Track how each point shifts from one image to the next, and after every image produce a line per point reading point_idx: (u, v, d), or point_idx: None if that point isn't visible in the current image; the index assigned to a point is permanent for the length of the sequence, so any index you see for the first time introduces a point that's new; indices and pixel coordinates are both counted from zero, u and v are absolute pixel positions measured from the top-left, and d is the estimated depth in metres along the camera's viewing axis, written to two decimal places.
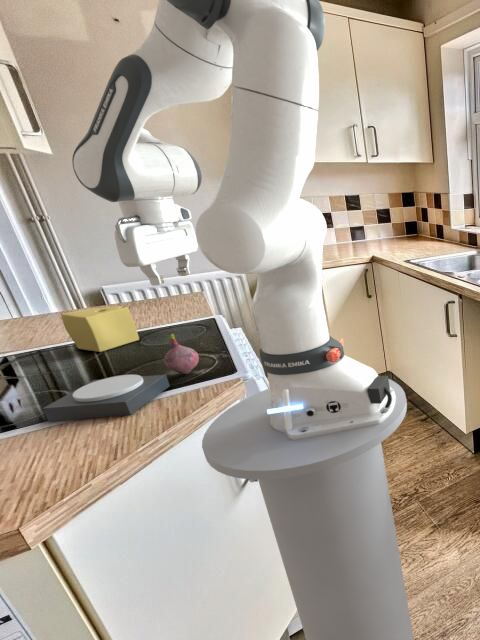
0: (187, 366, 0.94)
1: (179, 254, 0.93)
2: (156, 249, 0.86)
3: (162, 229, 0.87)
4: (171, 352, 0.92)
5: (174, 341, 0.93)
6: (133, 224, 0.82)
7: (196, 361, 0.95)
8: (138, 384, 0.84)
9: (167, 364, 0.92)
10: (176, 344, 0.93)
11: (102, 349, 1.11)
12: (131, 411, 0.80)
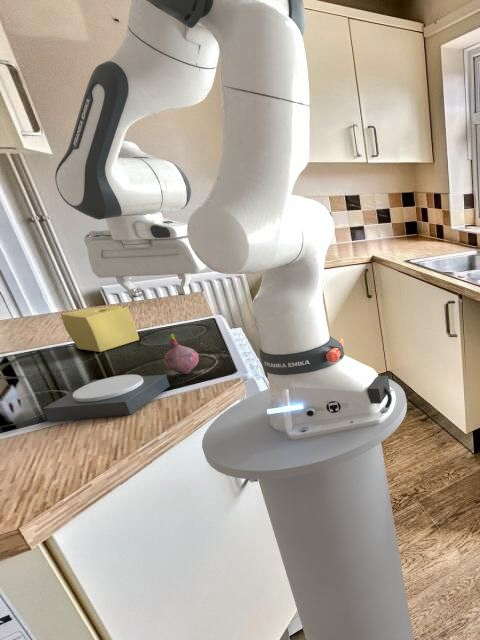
0: (187, 366, 0.94)
1: (158, 273, 0.87)
2: (118, 264, 0.85)
3: (124, 246, 0.83)
4: (171, 352, 0.92)
5: (174, 341, 0.93)
6: (104, 238, 0.84)
7: (196, 361, 0.95)
8: (138, 384, 0.84)
9: (167, 364, 0.92)
10: (176, 344, 0.93)
11: (102, 349, 1.11)
12: (131, 411, 0.80)
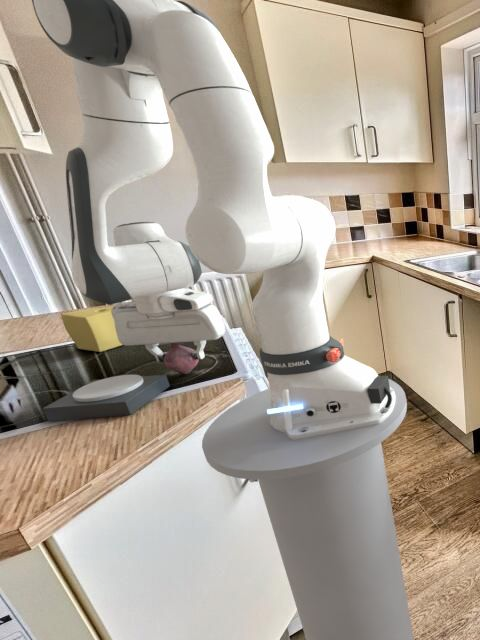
0: (187, 366, 0.94)
1: (180, 340, 0.92)
2: (142, 333, 0.90)
3: (148, 317, 0.89)
4: (171, 352, 0.92)
5: None
6: (129, 309, 0.89)
7: (196, 361, 0.95)
8: (138, 384, 0.84)
9: (167, 364, 0.92)
10: (176, 344, 0.93)
11: (102, 349, 1.11)
12: (131, 411, 0.80)
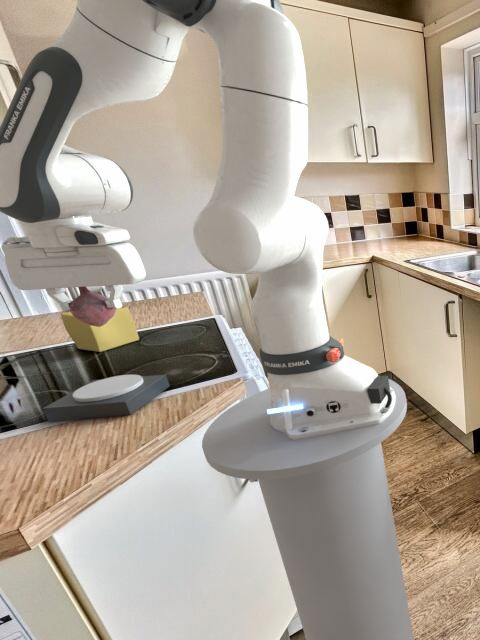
0: (99, 317, 0.79)
1: (88, 284, 0.77)
2: (41, 275, 0.75)
3: (46, 254, 0.73)
4: (78, 299, 0.77)
5: None
6: (24, 245, 0.74)
7: (111, 311, 0.80)
8: (138, 384, 0.84)
9: (73, 313, 0.77)
10: (85, 290, 0.78)
11: (102, 349, 1.11)
12: (131, 411, 0.80)
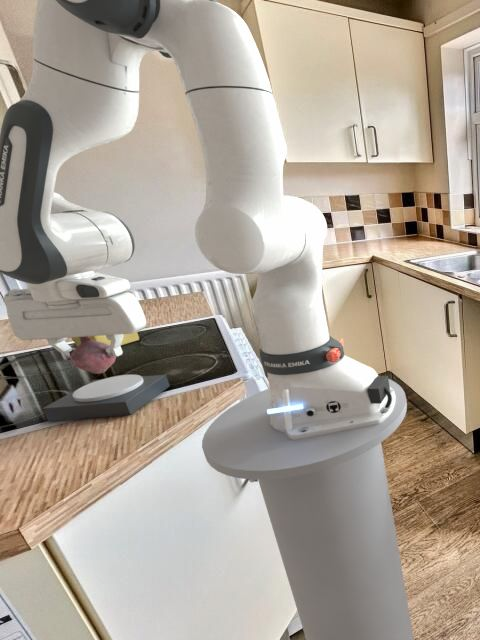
0: (100, 365, 0.80)
1: (89, 334, 0.78)
2: (42, 326, 0.76)
3: (47, 307, 0.74)
4: (79, 348, 0.78)
5: None
6: (26, 297, 0.75)
7: (112, 359, 0.81)
8: (138, 384, 0.84)
9: (74, 362, 0.78)
10: (86, 338, 0.79)
11: None
12: (131, 411, 0.80)
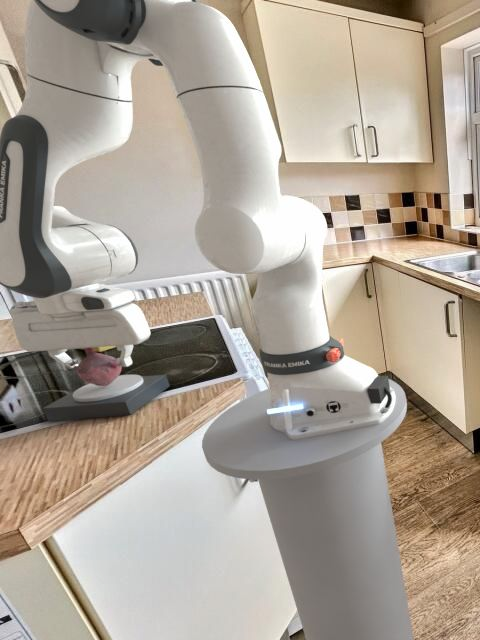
0: (105, 378, 0.81)
1: (94, 345, 0.78)
2: (48, 337, 0.77)
3: (53, 319, 0.75)
4: (85, 361, 0.79)
5: (89, 348, 0.80)
6: (32, 309, 0.76)
7: (117, 371, 0.82)
8: (138, 384, 0.84)
9: (80, 375, 0.79)
10: (92, 352, 0.80)
11: (102, 349, 1.11)
12: (131, 411, 0.80)
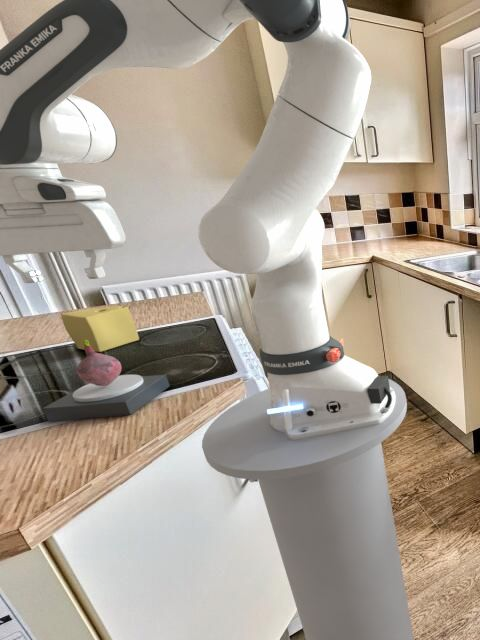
0: (105, 378, 0.81)
1: (58, 249, 0.66)
2: (2, 238, 0.64)
3: (6, 212, 0.62)
4: (85, 361, 0.79)
5: (89, 348, 0.80)
6: None
7: (117, 371, 0.82)
8: (138, 384, 0.84)
9: (80, 375, 0.79)
10: (92, 352, 0.80)
11: (102, 349, 1.11)
12: (131, 411, 0.80)
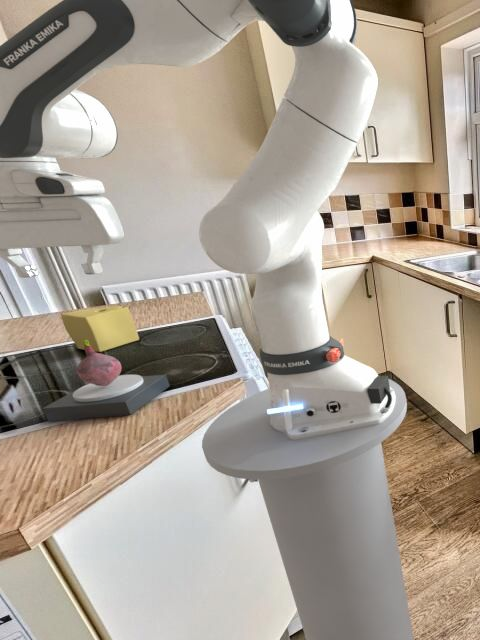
0: (105, 378, 0.81)
1: (55, 244, 0.65)
2: None
3: (2, 206, 0.62)
4: (85, 361, 0.79)
5: (89, 348, 0.80)
6: None
7: (117, 371, 0.82)
8: (138, 384, 0.84)
9: (80, 375, 0.79)
10: (92, 352, 0.80)
11: (102, 349, 1.11)
12: (131, 411, 0.80)
